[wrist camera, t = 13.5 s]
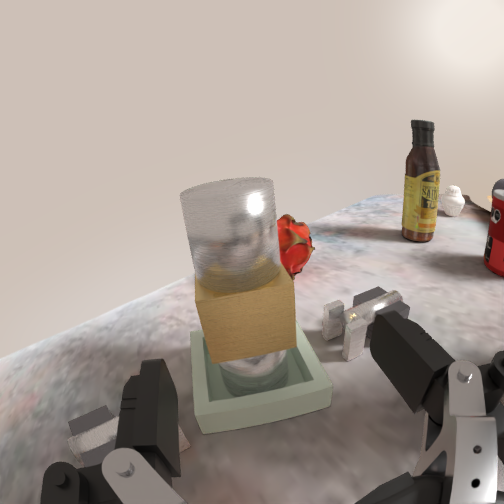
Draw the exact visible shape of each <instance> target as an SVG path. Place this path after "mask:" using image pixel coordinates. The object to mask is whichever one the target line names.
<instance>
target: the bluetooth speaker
mask: <svg viewBox="0 0 504 504" xmlns="http://www.w3.org/2000/svg"><path fill="white" fill-rule="evenodd" d="M498 189H499V190H504V179H500V180H499V181H497V182H496V183H495V185H494V187H493V189H492V199H493V193H494V190H498Z"/></svg>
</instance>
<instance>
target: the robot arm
mask: <svg viewBox="0 0 504 504" xmlns="http://www.w3.org/2000/svg"><path fill="white" fill-rule="evenodd" d="M370 351H371V355H372V357H373V359H374V360H375V361H376V363H377V364H378V365H379V367H380V368H381V369H382V371H383V372H384V373H385V375H386V376H387V377H388V379H389V380H390V381H391V383H392V384H393V385H394V387H395V388H396V389H397V391H398V392H399V393H400V395H401V396H402V397H403V399H404V400H405V402H406V403H407V404H408V406H409V407H410V408H411V410H412V411H413V413H414V414H415V413H417V412H418V411H420V410H422V409H425V410H426V411H427V412H426V414H425V419H424V429H423V438H422V446H421V453H420V457H419V460H418V462H417V465H416V467H415V469H414V472H413V476H412V477H411V475H410V474H409V472H406V473H404V474H402V475H401V476H399V477H397V478H395V479H393V480H391V481H389V482H386V483H384V484H382V485H380V486H379V487H377V488H376V489H375V490H373V491H372V492H370V493H369V494H368V495H366V496H365V497H363V498H362V499H361V500H359V501H358V502H356V503H355V504H504V492H502V491H497V468H498V456H499V458H500V459H501V461H502V462H503V464H504V406H503V405H502V403H501V400H502V399H503V397H504V351H500V352H498V353H496V354H495V356H494V358H493V360H492V362H491V363H490V364H486V365H482V366H476V365H475V364H473V363H472V362H470V361H466V360H458V361H455V360H454V359H453V358H452V357H451V356H450V355H449V354H448V353H447V352H446V351H445V350H444V349H443V348H442V347H441V346H440V345H439V344H438V343H437V342H436V341H435V340H434V339H432V337H431V336H430V335H429V334H428V333H426V332H425V330H424V329H423V328H422V327H420V326H419V325H418V324H417V323H415V322H413V321H411V320H409V319H407V318H406V319H404V318H403V317H402V316H401V315H400V314H399V313H398V312H397V311H395V310H391V311H387V312H384V313H381V314H378V315H376V317H375V319H374V325H373V331H372V336H371V341H370ZM120 408H121V411H120V414H119V421H118V428H117V435H116V443H115V448H114V450H113V451H111V452H110V453H109V454H108V455H107V456H106V457H105V458H104V460H103V462H102V463H100V464H97V465H94V466H89V467H85V468H80V469H76V468H75V467H73V466H72V465H71V464H69V463H66V462H56V463H54V464H52V465H50V466H49V467H48V468H47V470H46V471H45V474H44V477H43V485H42V493H41V503H40V504H188V503H187V502H186V501H185V500H183V499H182V498H181V497H180V496H179V495H178V494H177V493H176V492H175V491H174V490H173V489H172V477H181V470H180V454H179V431H178V399H177V393H176V389H175V386H174V383H173V381H172V378H171V376H170V373H169V371H168V368H167V366H166V363H165V361H164V359H153V360H144V361H142V364H141V370H140V375H137V376H131V377H130V379H129V380H128V382H127V383H126V385H125V386H124V390H123V395H122V401H121V407H120Z"/></svg>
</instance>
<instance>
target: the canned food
mask: <svg viewBox="0 0 504 504" xmlns="http://www.w3.org/2000/svg"><path fill="white" fill-rule="evenodd" d="M484 263H485V265H486V267H487V268H488V269H489V270H491V271H492V272H494V273H495V274H497V275H499V276H502V277H504V190H499V189H498V190H494V193H493V200H492V209H491V216H490V224H489V230H488V236H487V242H486V247H485V252H484Z"/></svg>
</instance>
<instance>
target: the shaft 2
mask: <svg viewBox="0 0 504 504" xmlns="http://www.w3.org/2000/svg"><path fill="white" fill-rule="evenodd" d="M391 310H395V311H397V312H398V313H399V314H400V315H401V316H402V317H403V318H404V319H406V318H407V319H408V314H409V310H410V307H409V306H408V305H406V304H405V303H403V299H402V296H401V295H400V293H399V292H397V291H395V290H392V291H390V292H386V291H385V290H383V289H382V288H380V287H379V286H378V287H376V288H374V289H371V290H369V291H366V292H364V293H361V294H359V295H356V296H354V300H353V308H350V309H348V310H345V311H344V303H342V302H341V301H340V300H337V301H335V302H332V303H329V304H326V305H324V314H323V332H322V336H323V337H324V338H325V339H326V340H330V339H332V338H335V337H337V336H339V335H341V333H342V327H343V329H344V330H345V338H344V346H343V353H342V356H343V357H344V358H345V359H346V360H347V361H349V360H352V359H354V358H356V357H358V356H360V355H362V353H363V348H364V343H365V337H366V335H367V336H368V337H369V338H370V339H371V336H372V331H373V325H374V319H375V317H376V315H378V314H381V313H384V312H387V311H391Z"/></svg>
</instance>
